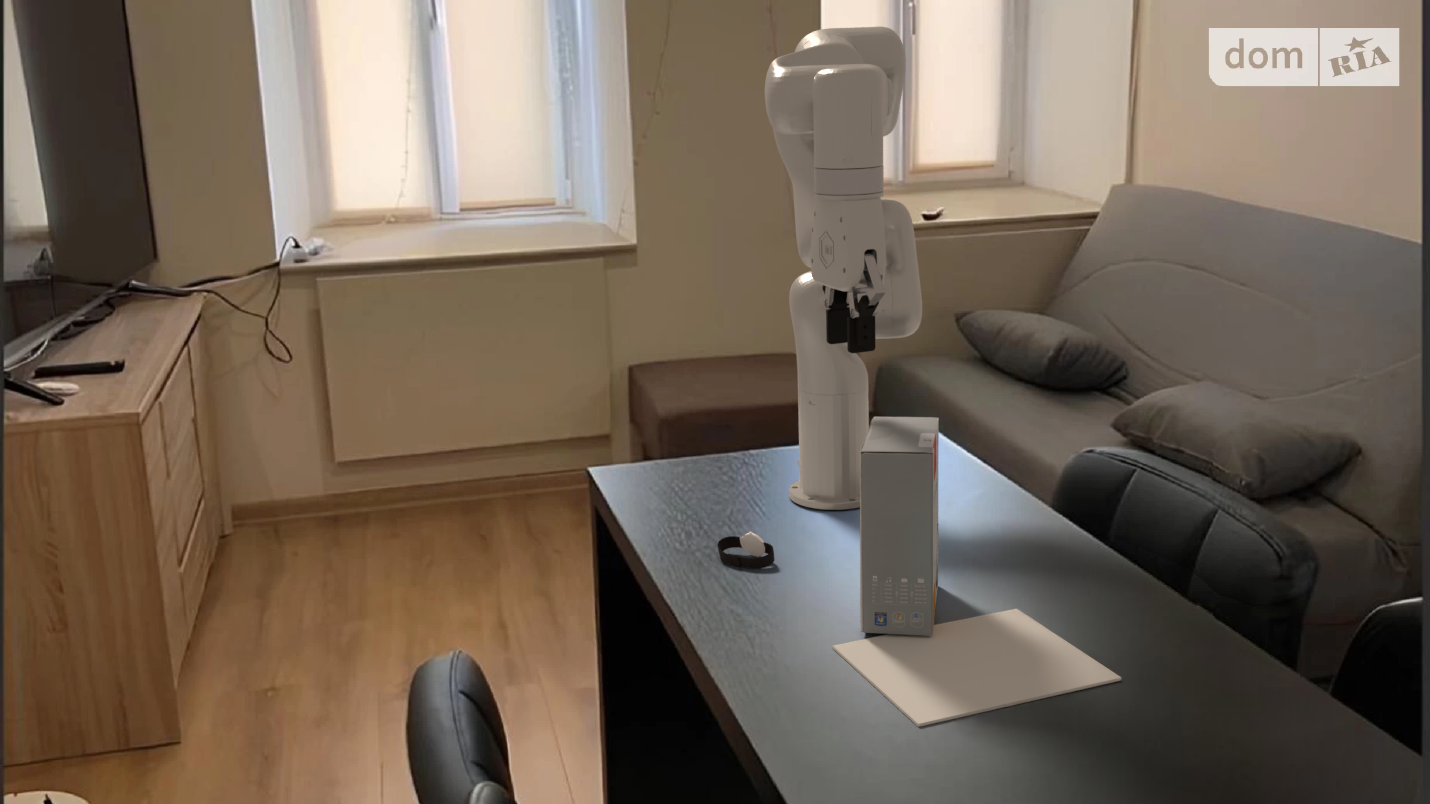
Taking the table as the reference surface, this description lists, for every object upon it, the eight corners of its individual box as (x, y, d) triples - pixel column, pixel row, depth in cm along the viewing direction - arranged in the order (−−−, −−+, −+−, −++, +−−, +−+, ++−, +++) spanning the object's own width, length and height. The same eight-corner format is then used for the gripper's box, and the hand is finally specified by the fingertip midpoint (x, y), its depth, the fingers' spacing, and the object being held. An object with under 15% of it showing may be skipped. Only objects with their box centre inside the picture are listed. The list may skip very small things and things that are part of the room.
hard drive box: (934, 638, 135) (933, 452, 131) (860, 635, 137) (856, 451, 132) (939, 583, 150) (939, 414, 145) (872, 581, 152) (869, 414, 147)
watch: (783, 562, 159) (782, 534, 158) (761, 575, 155) (760, 546, 154) (731, 550, 163) (730, 523, 162) (709, 562, 160) (707, 534, 159)
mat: (832, 648, 135) (832, 645, 135) (1016, 611, 142) (1016, 608, 142) (918, 726, 118) (918, 723, 118) (1121, 680, 126) (1121, 677, 126)
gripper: (786, 180, 149) (789, 337, 154) (852, 192, 134) (854, 365, 139) (845, 176, 152) (847, 330, 156) (917, 187, 136) (916, 358, 141)
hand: (850, 345), depth 147 cm, fingers open, 4 cm apart
